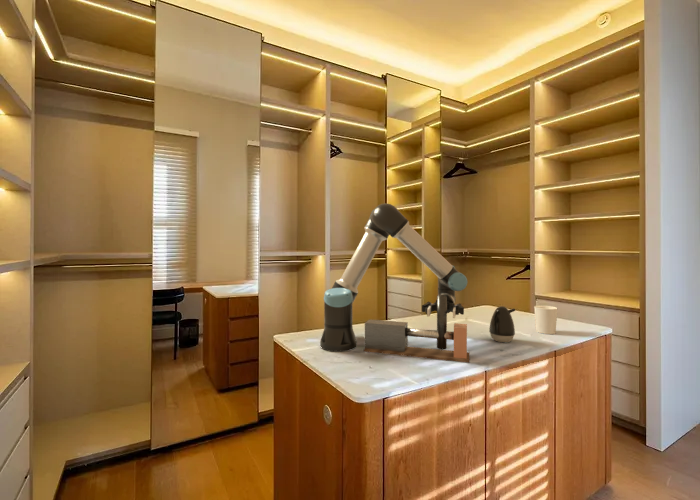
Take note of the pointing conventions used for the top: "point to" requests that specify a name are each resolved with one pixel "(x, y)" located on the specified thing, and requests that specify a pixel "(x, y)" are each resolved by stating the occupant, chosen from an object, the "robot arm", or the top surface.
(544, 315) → the candle holder
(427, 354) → the base board
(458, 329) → the socket
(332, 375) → the top surface
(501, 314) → the pump dispenser
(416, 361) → the top surface
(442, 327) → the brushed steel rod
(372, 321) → the box on wooden plank
